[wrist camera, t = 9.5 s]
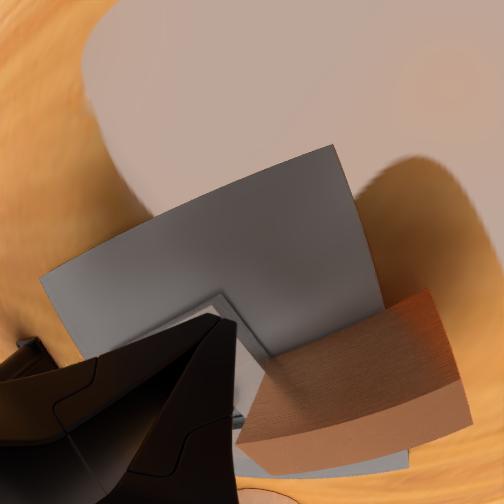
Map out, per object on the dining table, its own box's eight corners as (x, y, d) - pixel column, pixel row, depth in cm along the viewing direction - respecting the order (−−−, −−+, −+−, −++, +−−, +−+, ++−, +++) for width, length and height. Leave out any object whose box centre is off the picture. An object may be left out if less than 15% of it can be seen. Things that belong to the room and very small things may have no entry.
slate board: (178, 458, 24) (159, 491, 20) (50, 271, 19) (8, 296, 15) (408, 454, 16) (408, 504, 12) (333, 143, 11) (326, 148, 7)
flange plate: (206, 451, 19) (178, 503, 14) (110, 352, 17) (61, 401, 13) (463, 384, 11) (482, 467, 7) (384, 200, 10) (411, 255, 5)
